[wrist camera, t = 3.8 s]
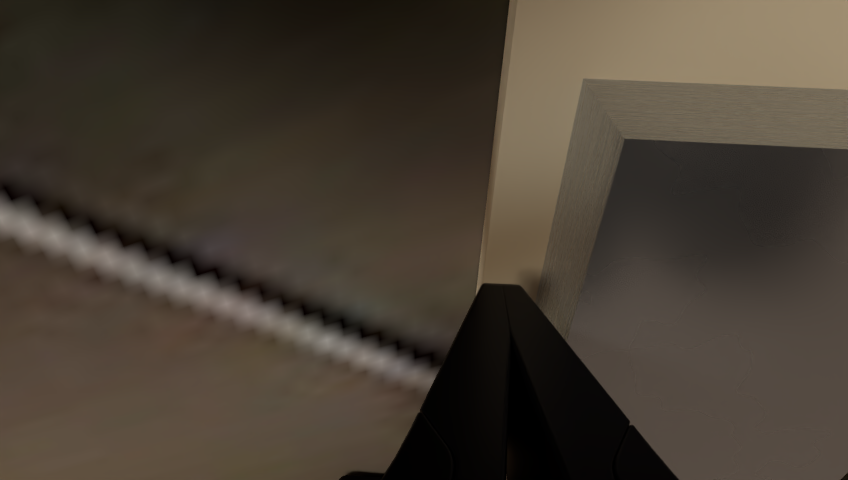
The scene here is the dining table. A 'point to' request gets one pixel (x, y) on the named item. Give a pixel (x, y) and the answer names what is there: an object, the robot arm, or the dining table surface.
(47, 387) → the dining table surface
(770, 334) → the grey rectangular box
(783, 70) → the board
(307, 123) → the dining table surface
